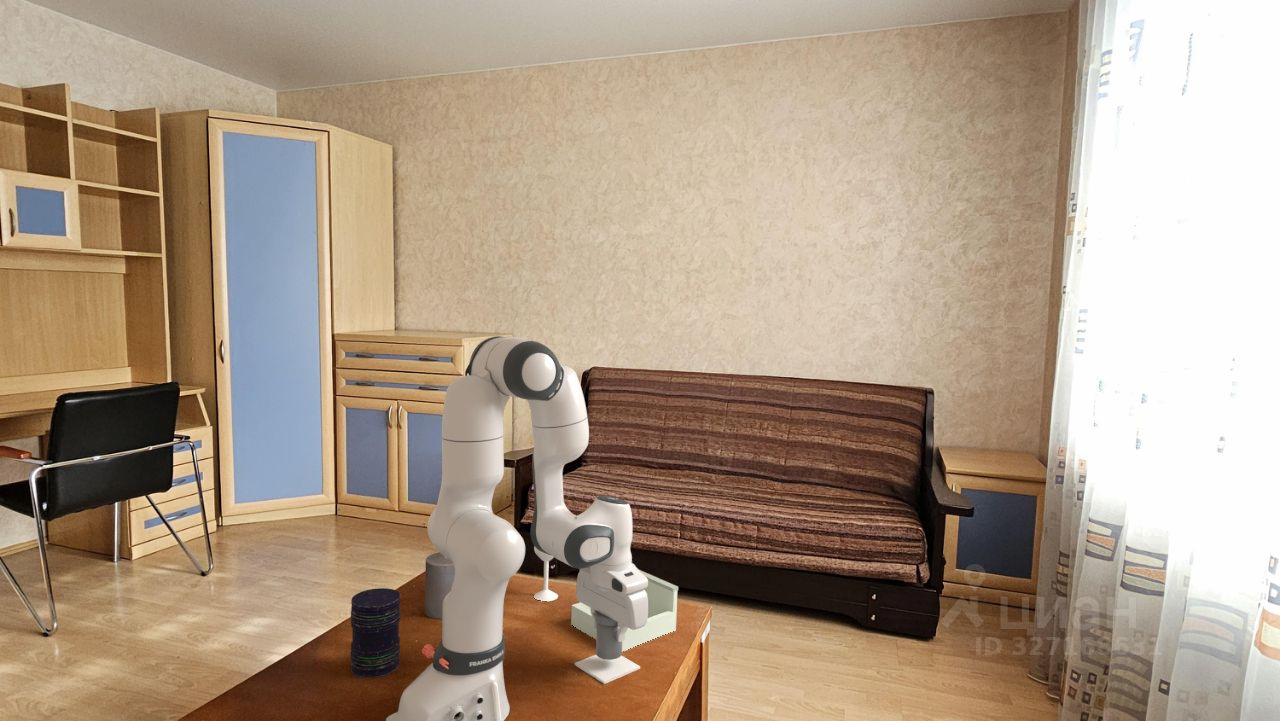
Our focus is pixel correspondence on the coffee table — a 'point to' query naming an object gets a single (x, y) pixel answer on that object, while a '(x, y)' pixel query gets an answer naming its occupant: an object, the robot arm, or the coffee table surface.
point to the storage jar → (375, 632)
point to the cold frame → (659, 614)
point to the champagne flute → (545, 578)
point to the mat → (607, 668)
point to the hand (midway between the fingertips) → (609, 634)
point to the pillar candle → (437, 583)
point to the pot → (607, 638)
